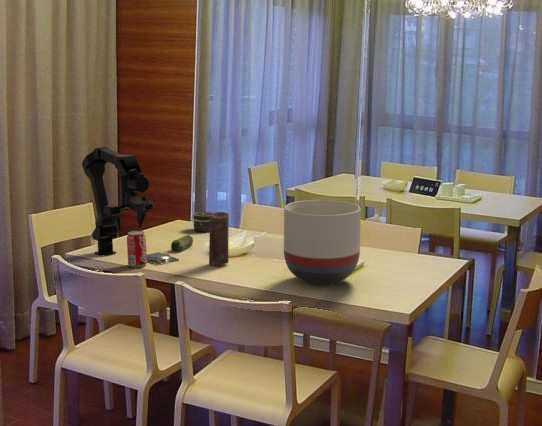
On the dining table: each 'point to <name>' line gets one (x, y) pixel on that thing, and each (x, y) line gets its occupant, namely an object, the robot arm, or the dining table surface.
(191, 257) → the dining table surface
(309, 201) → the planter
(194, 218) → the jar
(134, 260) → the soda can
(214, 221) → the candle
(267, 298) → the dining table surface
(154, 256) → the pawl stand
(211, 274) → the dining table surface
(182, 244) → the vegetable
